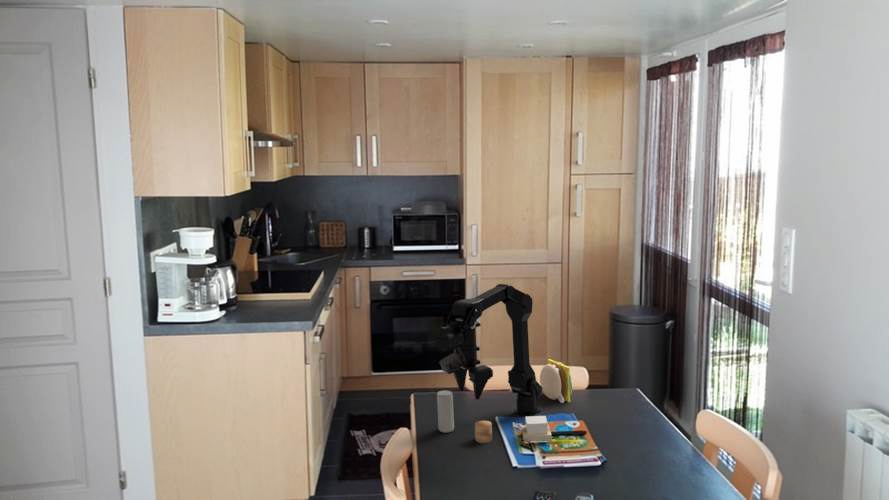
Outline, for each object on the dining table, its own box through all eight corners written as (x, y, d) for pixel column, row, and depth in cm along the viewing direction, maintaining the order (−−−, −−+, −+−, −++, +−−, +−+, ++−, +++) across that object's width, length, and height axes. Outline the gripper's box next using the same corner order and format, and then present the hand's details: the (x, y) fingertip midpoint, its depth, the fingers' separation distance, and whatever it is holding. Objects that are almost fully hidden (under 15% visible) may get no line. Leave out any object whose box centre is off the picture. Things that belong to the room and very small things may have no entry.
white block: (525, 426, 212) (525, 416, 212) (545, 425, 212) (545, 415, 211) (527, 433, 206) (526, 423, 206) (547, 433, 206) (547, 423, 205)
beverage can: (452, 433, 215) (450, 395, 214) (437, 432, 216) (435, 395, 215) (455, 427, 220) (453, 390, 219) (440, 427, 221) (438, 390, 220)
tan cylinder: (483, 435, 213) (482, 419, 212) (495, 439, 209) (495, 423, 209) (471, 440, 210) (471, 424, 209) (484, 444, 206) (483, 428, 205)
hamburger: (535, 395, 247) (534, 361, 245) (555, 390, 250) (555, 357, 249) (555, 405, 236) (554, 370, 234) (575, 400, 239) (574, 366, 238)
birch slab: (521, 434, 213) (521, 425, 213) (548, 433, 213) (548, 424, 213) (524, 445, 205) (523, 435, 205) (551, 444, 205) (551, 434, 205)
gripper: (427, 341, 212) (430, 392, 214) (458, 355, 196) (461, 409, 198) (459, 335, 217) (462, 384, 219) (492, 348, 201) (495, 401, 203)
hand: (469, 394), depth 210 cm, fingers open, 9 cm apart
